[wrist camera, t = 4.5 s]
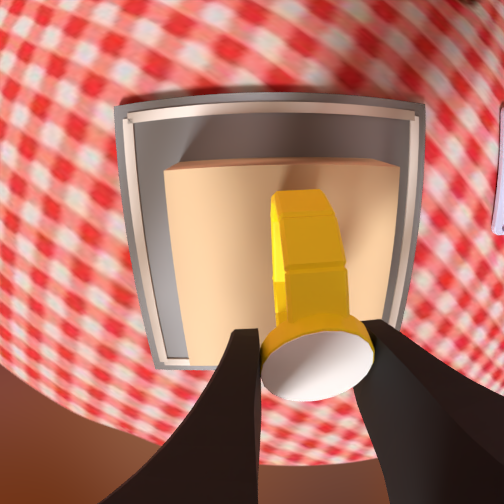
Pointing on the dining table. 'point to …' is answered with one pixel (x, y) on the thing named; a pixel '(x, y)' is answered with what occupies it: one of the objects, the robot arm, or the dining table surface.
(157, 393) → the dining table surface
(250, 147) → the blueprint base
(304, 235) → the watch
